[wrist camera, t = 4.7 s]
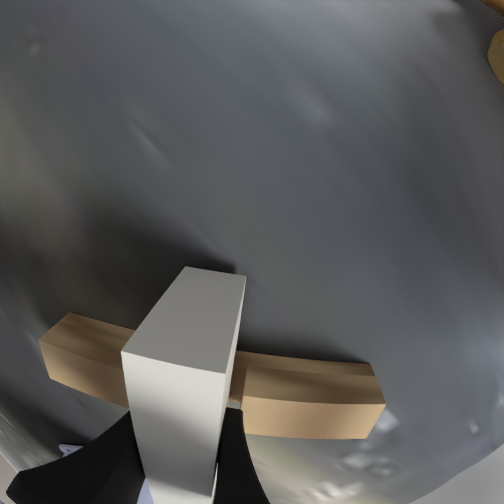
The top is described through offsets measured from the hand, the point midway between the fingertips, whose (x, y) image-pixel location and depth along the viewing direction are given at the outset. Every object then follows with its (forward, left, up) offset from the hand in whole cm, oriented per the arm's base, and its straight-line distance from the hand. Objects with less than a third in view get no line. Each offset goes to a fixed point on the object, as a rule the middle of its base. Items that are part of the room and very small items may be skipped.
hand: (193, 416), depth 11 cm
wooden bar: (0, 0, -3) cm, 3 cm away
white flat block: (0, 0, -3) cm, 3 cm away
